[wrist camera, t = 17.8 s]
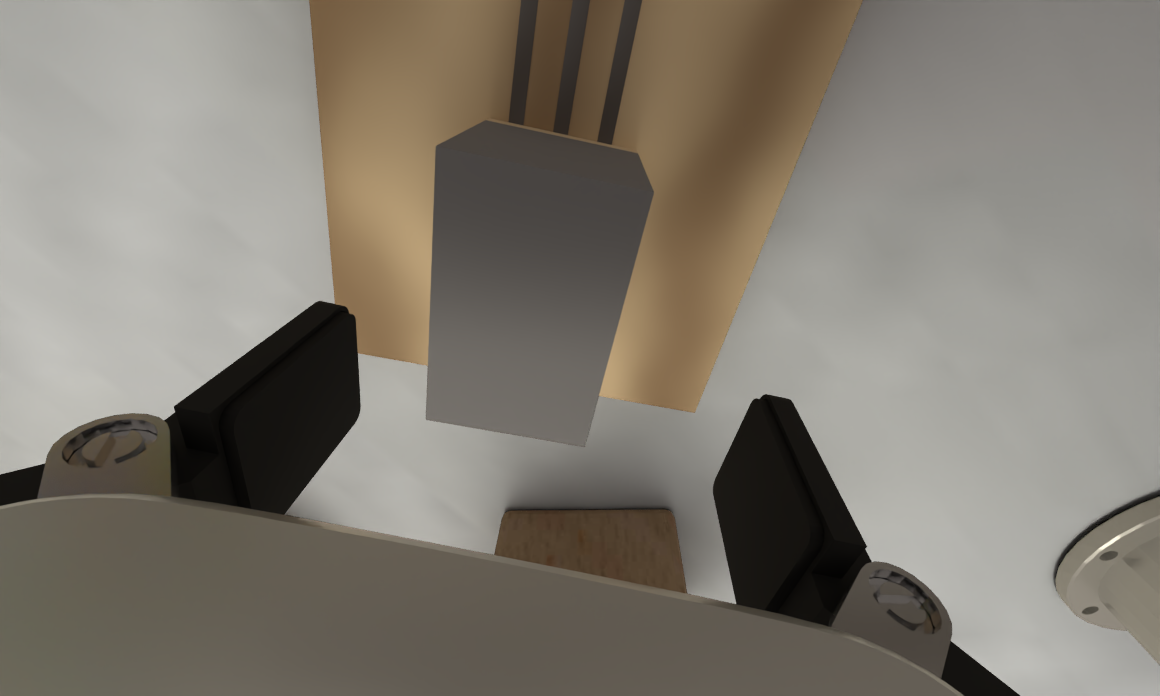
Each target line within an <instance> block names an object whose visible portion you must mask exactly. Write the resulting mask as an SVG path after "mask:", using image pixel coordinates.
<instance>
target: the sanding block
mask: <svg viewBox="0 0 1160 696" xmlns="http://www.w3.org/2000/svg"><path fill="white" fill-rule="evenodd" d="M653 195H654V191H653V188H652V186H651V184H650V181H649V179H648V176H647V174H646V172H645V169H644V167H643V164H642V162H641V159H640V157H639V155H638V152H637V150H633V149H628V148H624V147H619V146H614V145H610V144H605V143H601V142H596V141H592V140H587V139H583V138H578V137H573V136H569V135H564V134H560V133H555V132H551V131H546V130H541V129H537V128H532V127H528V126H523V125H519V124H514V123H509V122H505V121H500V120H496V119H491V118H489V119H487V120H485V121H483V122H481V123H479V124H477V125H475V126H473V127H471V128H469V129H467V130H465V131H463V132H462V133H460V134H458V135H456V136H454V137H452V138H450V139H448V140H446V141H444V142H442V143H440V144H438V145H436V150H435V178H434V206H433V234H432V262H431V290H430V318H429V346H428V374H427V402H426V420H431V421H436V422H442V423H448V424H454V425H460V426H465V427H471V428H477V429H483V430H489V431H494V432H500V433H506V434H512V435H518V436H523V437H529V438H535V439H541V440H547V441H552V442H558V443H564V444H570V445H576V446H581V447H585V445H586V441H587V437H588V434H589V430H590V426H591V423H592V419H593V415H594V412H595V408H596V404H597V401H598V397H599V393H600V390H601V386H602V382H603V379H604V375H605V371H606V368H607V364H608V360H609V357H610V353H611V349H612V346H613V342H614V338H615V335H616V331H617V327H618V324H619V320H620V316H621V313H622V309H623V305H624V302H625V298H626V294H627V290H628V287H629V283H630V279H631V276H632V272H633V268H634V265H635V261H636V257H637V254H638V250H639V246H640V243H641V239H642V235H643V232H644V228H645V224H646V221H647V217H648V213H649V210H650V206H651V202H652V199H653Z"/></svg>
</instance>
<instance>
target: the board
mask: <svg viewBox="0 0 1160 696" xmlns="http://www.w3.org/2000/svg"><path fill="white" fill-rule="evenodd" d="M862 1H863V0H309V3H310V15H311V26H312V38H313V50H314V62H315V73H316V85H317V97H318V109H319V121H320V132H321V144H322V156H323V168H324V180H325V191H326V203H327V215H328V227H329V238H330V250H331V262H332V274H333V286H334V297H335V304H337V305H342V306H345V307H347V308H348V310H349V314H353V315H354V316H355V318H356V330H357V349H358V353H360V354H365V355H371V356H377V357H382V358H388V359H394V360H399V361H405V362H411V363H416V364H422V365H428V346H429V318H430V290H431V262H432V234H433V206H434V178H435V150H436V145H438V144H440V143H442V142H444V141H446V140H448V139H450V138H452V137H454V136H456V135H458V134H460V133H462V132H463V131H465V130H467V129H469V128H471V127H473V126H475V125H477V124H479V123H481V122H483V121H485V120H487V119H489V118H491V119H496V120H500V121H505V122H509V123H514V124H519V125H523V126H528V127H532V128H537V129H541V130H546V131H551V132H555V133H560V134H564V135H569V136H573V137H578V138H583V139H587V140H592V141H596V142H601V143H605V144H610V145H614V146H619V147H624V148H628V149H633V150H637V152H638V155H639V157H640V159H641V162H642V164H643V167H644V169H645V172H646V174H647V176H648V179H649V181H650V184H651V186H652V188H653V191H654V195H653V199H652V202H651V206H650V210H649V213H648V217H647V221H646V224H645V228H644V232H643V235H642V239H641V243H640V246H639V250H638V254H637V257H636V261H635V265H634V268H633V272H632V276H631V279H630V283H629V287H628V290H627V294H626V298H625V302H624V305H623V309H622V313H621V316H620V320H619V324H618V327H617V331H616V335H615V338H614V342H613V346H612V349H611V353H610V357H609V360H608V364H607V368H606V371H605V375H604V379H603V382H602V386H601V390H600V393H599V396H603V397H608V398H614V399H620V400H625V401H631V402H637V403H642V404H648V405H654V406H659V407H665V408H671V409H676V410H682V411H687V412H693V413H695V411H696V408H697V406H698V403H699V401H700V398H701V396H702V394H703V391H704V389H705V386H706V384H707V381H708V379H709V376H710V374H711V371H712V369H713V367H714V364H715V362H716V359H717V357H718V354H719V352H720V349H721V347H722V344H723V342H724V340H725V337H726V335H727V332H728V330H729V327H730V325H731V322H732V320H733V318H734V315H735V313H736V310H737V308H738V305H739V303H740V300H741V298H742V295H743V293H744V291H745V288H746V286H747V283H748V281H749V278H750V276H751V273H752V271H753V268H754V266H755V264H756V261H757V259H758V256H759V254H760V251H761V249H762V246H763V244H764V242H765V239H766V237H767V234H768V232H769V229H770V227H771V224H772V222H773V219H774V217H775V215H776V212H777V210H778V207H779V205H780V202H781V200H782V197H783V195H784V193H785V190H786V188H787V185H788V183H789V180H790V178H791V175H792V173H793V170H794V168H795V166H796V163H797V161H798V158H799V156H800V153H801V151H802V148H803V146H804V143H805V141H806V139H807V136H808V134H809V131H810V129H811V126H812V124H813V121H814V119H815V117H816V114H817V112H818V109H819V107H820V104H821V102H822V99H823V97H824V94H825V92H826V90H827V87H828V85H829V82H830V80H831V77H832V75H833V72H834V70H835V67H836V65H837V63H838V60H839V58H840V55H841V53H842V50H843V48H844V45H845V43H846V41H847V38H848V36H849V33H850V31H851V28H852V26H853V23H854V21H855V18H856V16H857V14H858V11H859V9H860V6H861V4H862Z"/></svg>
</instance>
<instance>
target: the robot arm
mask: <svg viewBox="0 0 1160 696" xmlns="http://www.w3.org/2000/svg"><path fill="white" fill-rule="evenodd" d="M174 409H175V413H174V414H172V415H171V416H170V417H168V418H167V419H166V420H162V419H161V418H159V417H156V416H152V415H149V414H135V413H130V414H121V415H114V416H110V417H105V418H101V419H97V420H94V421H92V422H89V423H87V424H84V425H82V426H79V427H77V428H76V429H74V430H72V431H70V432H69V433H67V434H65V435H64V436H62V437H61V438H60V439H59V440H58V441H57V442H56V443H55V444H53V446H52V447H51V449H50V451H49V453H48V455H47V458H46V463H45V464H42V465H38V466H33V467H29V468H25V469H21V470H17V471H13V472H9V473H5V474H1V475H0V696H1020V695H1019V694H1017V693H1016V692H1015V691H1014V690H1012V689H1011V688H1010V687H1009V686H1007V685H1006V684H1005V683H1003V682H1002V681H1001V680H1000V679H998V678H997V677H996V676H994V675H993V674H992V673H991V672H989V671H988V670H987V669H986V668H984V667H983V666H982V665H980V664H979V663H978V662H977V661H975V660H974V659H973V658H972V657H970V656H969V655H968V654H966V653H965V652H964V651H963V650H961V649H960V648H959V647H958V646H956V645H955V644H954V643H952V642H951V641H950V640H951V636H952V623H951V620H950V617H949V615H948V612H947V610H946V609H945V607H944V606H943V604H942V603H941V601H940V600H939V598H938V597H937V596H936V595H935V594H934V593H933V592H932V591H931V590H930V589H929V588H928V587H927V586H926V585H925V584H924V583H922V582H921V581H920V580H919V579H917V578H916V577H915V576H913V575H912V574H910V573H908V572H907V571H905V570H903V569H901V568H900V567H897V566H894V565H891V564H889V563H884V562H877V561H875V562H871V560H870V558H869V556H868V554H867V552H866V550H865V548H866V547H867V546H866V544H865V542H864V540H863V538H862V536H861V534H860V532H859V530H858V528H857V526H856V524H855V523H854V521H853V519H852V517H851V515H850V513H849V511H848V509H847V507H846V505H845V503H844V501H843V499H842V497H841V495H840V493H839V491H838V489H837V488H836V486H835V484H834V482H833V480H832V478H831V476H830V474H829V472H828V470H827V468H826V466H825V464H824V462H823V460H822V458H821V456H820V455H819V453H818V451H817V449H816V447H815V445H814V443H813V441H812V439H811V437H810V435H809V433H808V431H807V429H806V427H805V425H804V423H803V421H802V420H801V418H800V416H799V414H798V412H797V410H796V408H795V406H794V404H793V402H792V401H791V400H790V399H786V398H781V397H777V396H772V395H767V394H765V395H763V396H762V397H761V398H760V399H754V400H753V401H752V403H751V404H750V406H749V409H748V411H747V413H746V415H745V417H744V419H743V421H742V423H741V426H740V428H739V430H738V432H737V434H736V436H735V438H734V440H733V443H732V445H731V447H730V449H729V451H728V453H727V455H726V457H725V460H724V462H723V464H722V466H721V468H720V470H719V472H718V474H717V476H716V479H715V481H714V486H713V495H714V500H715V505H716V509H717V514H718V519H719V524H720V528H721V533H722V538H723V542H724V547H725V552H726V557H727V561H728V566H729V571H730V575H731V580H732V585H733V590H734V594H735V599H736V604H732V603H728V602H723V601H719V600H714V599H710V598H705V597H700V596H695V595H691V594H686V593H681V592H676V591H671V590H666V589H661V588H656V587H651V586H646V585H641V584H636V583H631V582H627V581H622V580H617V579H612V578H607V577H602V576H597V575H592V574H587V573H582V572H577V571H572V570H567V569H562V568H557V567H552V566H547V565H542V564H537V563H532V562H527V561H522V560H517V559H512V558H507V557H501V556H496V555H491V554H486V553H481V552H476V551H471V550H466V549H461V548H456V547H450V546H445V545H440V544H435V543H430V542H425V541H420V540H414V539H409V538H404V537H399V536H394V535H388V534H383V533H378V532H373V531H367V530H362V529H357V528H352V527H347V526H341V525H336V524H331V523H326V522H320V521H315V520H310V519H305V518H299V517H294V516H288V515H284V514H285V513H286V511H287V510H288V509H289V507H290V506H291V505H292V504H293V502H294V501H295V500H296V498H297V497H298V496H299V495H300V493H301V492H302V491H303V489H304V488H305V487H306V486H307V484H308V483H309V482H310V480H311V479H312V478H313V477H314V475H315V474H316V473H317V471H318V470H319V469H320V468H321V466H322V465H323V464H324V462H325V461H326V460H327V459H328V457H329V456H330V455H331V453H332V452H333V451H334V450H335V448H336V447H337V446H338V444H339V443H340V442H341V440H342V439H343V438H344V437H345V435H346V434H347V433H348V431H349V430H350V429H351V428H352V426H353V425H354V424H355V422H356V421H357V419H358V417H359V413H360V387H359V368H358V349H357V330H356V318H355V316H354V315H353V314H349V310H348V308H347V307H345V306H342V305H337V304H332V303H327V302H322V301H318V302H316V303H314V304H313V305H312V306H310V307H309V308H308V309H306V310H305V311H303V312H302V313H301V314H299V315H298V316H297V317H295V318H294V319H293V320H291V321H290V322H288V323H287V324H286V325H284V326H283V327H282V328H280V329H279V330H278V331H276V332H275V333H273V334H272V335H271V336H269V337H268V338H267V339H265V340H264V341H263V342H261V343H260V344H258V345H257V346H256V347H254V348H253V349H252V350H250V351H249V352H248V353H246V354H245V355H244V356H242V357H241V358H239V359H238V360H237V361H235V362H234V363H233V364H231V365H230V366H229V367H227V368H226V369H224V370H223V371H222V372H220V373H219V374H218V375H216V376H215V377H214V378H212V379H211V380H209V381H208V382H207V383H205V384H204V385H203V386H201V387H200V388H199V389H197V390H196V391H194V392H193V393H192V394H190V395H189V396H188V397H186V398H185V399H184V400H182V401H181V402H179V403H178V404H177V405H175V406H174ZM1055 582H1056V590H1057V592H1058V594H1059V596H1060V597H1061V599H1062V600H1063V601H1064V603H1065V604H1066V605H1067V606H1068V607H1069V608H1070V609H1071V611H1072V612H1073V613H1074V614H1075V615H1076V616H1078V617H1079V618H1081V619H1083V620H1084V621H1086V622H1088V623H1091V624H1094V625H1097V626H1100V627H1104V628H1109V629H1116V630H1123V631H1129V633H1130V634H1131V635H1132V636H1133V637H1134V638H1135V639H1136V640H1137V641H1138V642H1139V643H1140V644H1141V646H1142V647H1143V648H1144V649H1145V650H1146V651H1147V652H1148V653H1149V654H1150V655H1151V656H1152V657H1153V659H1154V660H1155V661H1156V662H1157V663H1158V664H1159V665H1160V496H1158V497H1156V498H1153V499H1151V500H1148V501H1146V502H1143V503H1140V504H1138V505H1136V506H1134V507H1132V508H1130V509H1128V510H1126V511H1124V512H1122V513H1120V514H1118V515H1116V516H1114V517H1112V518H1110V519H1109V520H1107V521H1106V522H1104V523H1103V524H1101V525H1099V526H1098V527H1096V528H1095V529H1093V530H1092V531H1091V532H1090V533H1088V534H1087V535H1086V536H1085V537H1083V538H1082V539H1081V540H1080V541H1078V542H1077V543H1076V545H1075V546H1074V547H1073V548H1072V549H1071V550H1070V551H1069V552H1068V553H1067V554H1066V556H1065V558H1064V559H1063V561H1062V563H1061V564H1060V566H1059V568H1058V572H1057V576H1056V580H1055Z"/></svg>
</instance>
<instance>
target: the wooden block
mask: <svg viewBox="0 0 1160 696" xmlns="http://www.w3.org/2000/svg"><path fill="white" fill-rule="evenodd" d="M494 555H496V556H501V557H507V558H512V559H517V560H522V561H527V562H532V563H537V564H542V565H547V566H552V567H557V568H562V569H567V570H572V571H577V572H582V573H587V574H592V575H597V576H602V577H607V578H612V579H617V580H622V581H627V582H631V583H636V584H641V585H646V586H651V587H656V588H661V589H666V590H671V591H676V592H681V593H686V594H687V590H686V583H685V577H684V571H683V565H682V559H681V553H680V547H679V541H678V535H677V529H676V522H675V518H674V516H673V514H672V513H671V511H669V510H666V509H663V510H525V511H508V512H505V514H504V515H503V518H502V521H501V526H500V530H499V535H498V540H497V544H496V549H495V554H494Z"/></svg>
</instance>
